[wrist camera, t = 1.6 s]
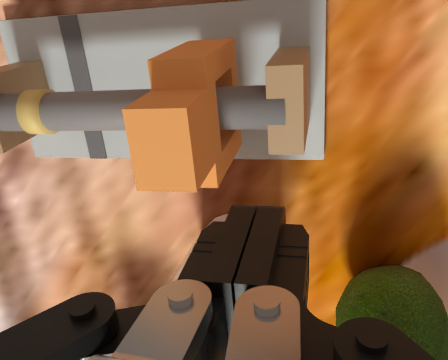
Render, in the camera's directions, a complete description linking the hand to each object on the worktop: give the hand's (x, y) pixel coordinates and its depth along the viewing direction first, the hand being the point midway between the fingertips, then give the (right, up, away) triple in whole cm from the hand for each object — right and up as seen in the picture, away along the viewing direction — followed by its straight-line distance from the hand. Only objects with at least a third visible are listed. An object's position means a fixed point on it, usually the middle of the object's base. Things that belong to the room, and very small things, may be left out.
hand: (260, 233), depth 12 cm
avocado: (+12, -7, +23) cm, 27 cm away
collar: (-2, +7, +16) cm, 18 cm away
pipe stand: (-6, +9, +20) cm, 23 cm away
